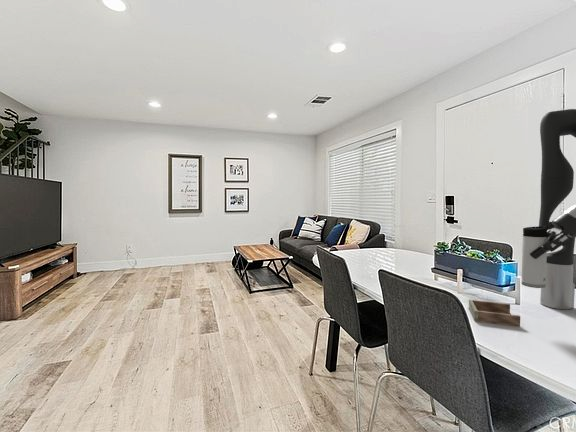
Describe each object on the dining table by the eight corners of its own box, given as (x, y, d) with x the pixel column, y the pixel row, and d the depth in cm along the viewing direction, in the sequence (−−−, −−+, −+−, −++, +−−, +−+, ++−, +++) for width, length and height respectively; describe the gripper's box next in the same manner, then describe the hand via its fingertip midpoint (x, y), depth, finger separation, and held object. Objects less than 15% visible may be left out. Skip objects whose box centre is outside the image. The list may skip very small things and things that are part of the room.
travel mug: (551, 288, 95) (553, 227, 94) (528, 288, 96) (530, 227, 95) (539, 283, 101) (540, 225, 100) (517, 282, 103) (518, 225, 101)
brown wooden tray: (509, 313, 110) (509, 303, 110) (520, 326, 98) (520, 316, 98) (468, 308, 115) (468, 299, 115) (474, 320, 103) (474, 311, 103)
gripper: (555, 210, 101) (512, 243, 106) (576, 212, 88) (526, 250, 93) (574, 226, 99) (530, 258, 105) (599, 231, 86) (547, 268, 91)
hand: (528, 254), depth 99 cm, fingers closed on travel mug, 6 cm apart
